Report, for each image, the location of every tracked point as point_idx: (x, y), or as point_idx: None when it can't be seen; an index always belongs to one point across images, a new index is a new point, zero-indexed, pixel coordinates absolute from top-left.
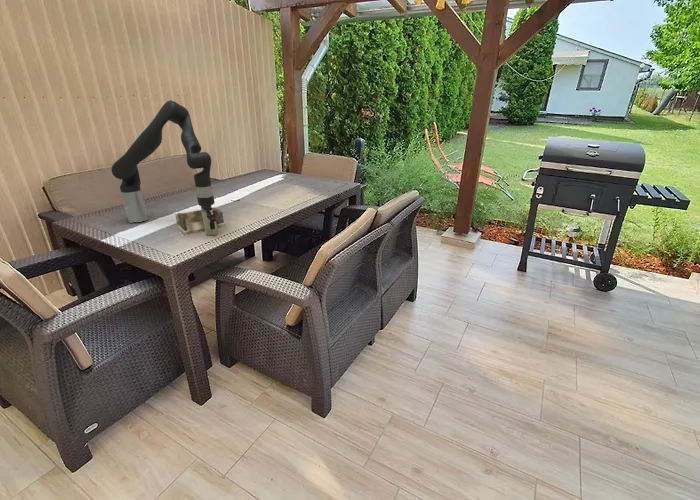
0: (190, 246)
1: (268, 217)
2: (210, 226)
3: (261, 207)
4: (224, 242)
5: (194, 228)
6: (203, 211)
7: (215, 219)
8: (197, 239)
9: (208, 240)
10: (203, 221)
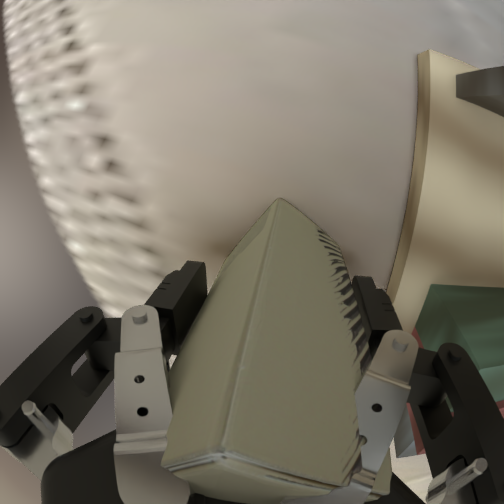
0: (116, 33)
1: None
2: (174, 278)
3: (411, 476)
4: (75, 249)
5: (464, 174)
6: (177, 465)
7: (86, 372)
8: (226, 98)
9: (147, 173)
10: (258, 266)
